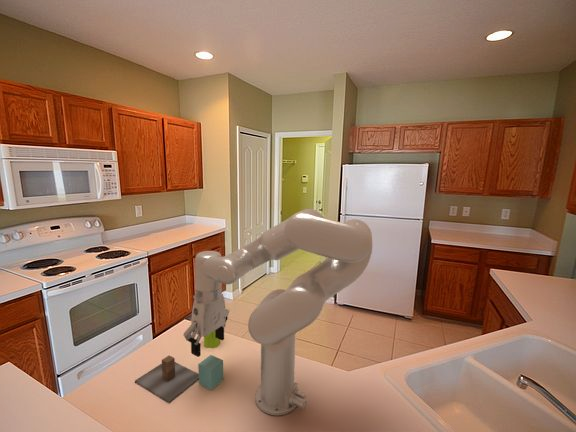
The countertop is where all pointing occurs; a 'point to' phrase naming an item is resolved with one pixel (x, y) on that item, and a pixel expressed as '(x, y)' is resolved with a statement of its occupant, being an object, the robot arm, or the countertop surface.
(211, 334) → the soap dispenser
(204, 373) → the teal cuboid
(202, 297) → the robot arm
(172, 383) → the grey base plate
